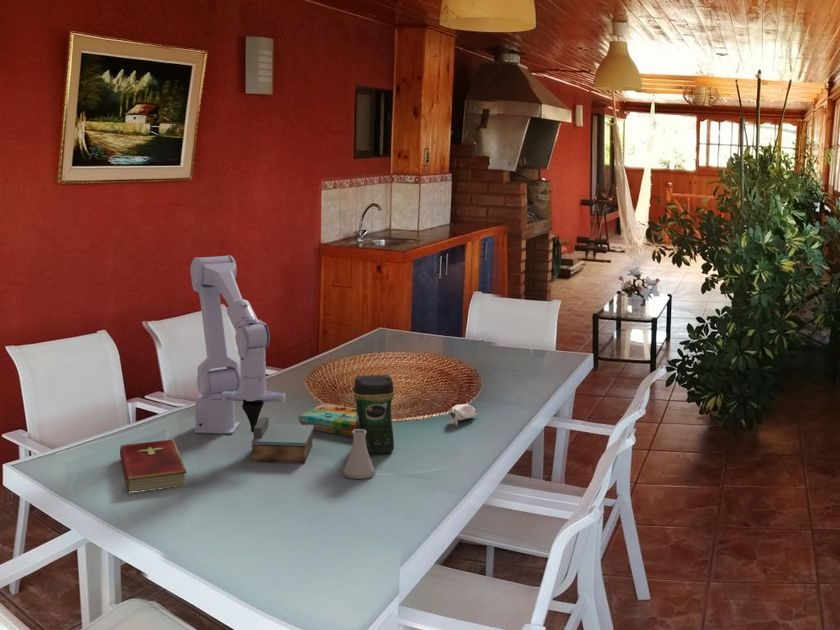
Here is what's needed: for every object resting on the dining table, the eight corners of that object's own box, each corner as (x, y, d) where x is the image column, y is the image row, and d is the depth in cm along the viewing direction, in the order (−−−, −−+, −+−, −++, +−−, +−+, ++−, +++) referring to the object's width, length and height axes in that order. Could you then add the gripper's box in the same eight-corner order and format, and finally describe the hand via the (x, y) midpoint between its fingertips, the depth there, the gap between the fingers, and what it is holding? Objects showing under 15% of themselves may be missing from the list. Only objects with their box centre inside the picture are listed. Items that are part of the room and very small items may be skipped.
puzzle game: (322, 400, 229) (389, 411, 221) (322, 417, 230) (389, 428, 222) (298, 412, 219) (367, 424, 211) (298, 430, 220) (367, 442, 212)
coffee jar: (390, 443, 211) (391, 370, 207) (396, 455, 203) (397, 379, 199) (351, 445, 209) (351, 371, 205) (355, 457, 201) (355, 380, 197)
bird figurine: (465, 432, 224) (480, 413, 232) (459, 409, 222) (474, 391, 230) (449, 432, 227) (464, 413, 235) (442, 410, 224) (457, 391, 233)
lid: (251, 444, 196) (251, 431, 195) (262, 426, 208) (262, 414, 207) (305, 446, 195) (305, 432, 195) (313, 428, 208) (313, 415, 207)
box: (252, 462, 197) (252, 445, 196) (263, 443, 208) (262, 428, 208) (304, 463, 196) (304, 447, 196) (312, 445, 208) (312, 429, 207)
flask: (342, 467, 195) (343, 425, 193) (374, 467, 195) (375, 425, 193) (342, 480, 187) (342, 436, 185) (375, 480, 188) (376, 436, 186)
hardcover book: (127, 496, 178) (126, 477, 177) (120, 461, 197) (119, 444, 196) (186, 488, 182) (186, 470, 182) (174, 455, 201) (173, 438, 200)
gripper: (217, 378, 195) (219, 435, 198) (281, 380, 195) (281, 437, 197) (225, 370, 202) (226, 425, 205) (286, 372, 202) (287, 427, 204)
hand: (254, 430), depth 202 cm, fingers closed
